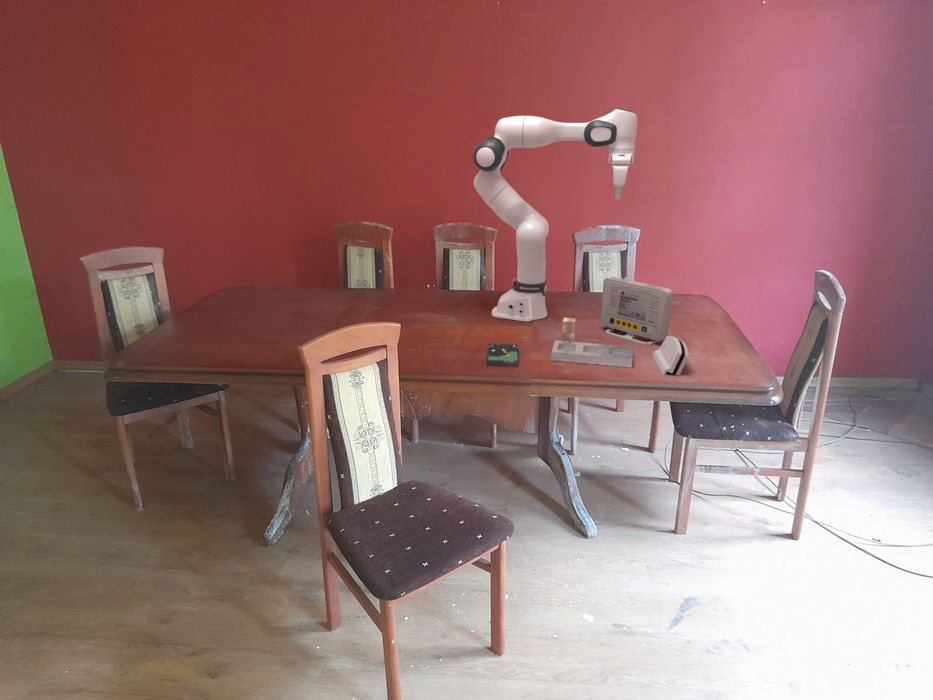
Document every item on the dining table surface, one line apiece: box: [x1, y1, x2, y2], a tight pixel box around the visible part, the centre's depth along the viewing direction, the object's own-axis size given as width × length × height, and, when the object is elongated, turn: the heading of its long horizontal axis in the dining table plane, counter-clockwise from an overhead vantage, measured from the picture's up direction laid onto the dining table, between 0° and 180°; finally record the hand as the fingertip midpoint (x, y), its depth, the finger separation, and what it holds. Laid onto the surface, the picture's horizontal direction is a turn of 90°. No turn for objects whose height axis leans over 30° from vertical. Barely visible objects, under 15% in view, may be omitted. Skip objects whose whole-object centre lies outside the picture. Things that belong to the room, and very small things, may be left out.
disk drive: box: [486, 343, 519, 368], centre depth 201 cm, size 10×3×15 cm
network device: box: [599, 276, 674, 346], centre depth 216 cm, size 26×9×20 cm, turn 44°
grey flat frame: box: [550, 339, 634, 369], centre depth 200 cm, size 26×11×3 cm, turn 76°
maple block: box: [561, 317, 577, 342], centre depth 211 cm, size 4×4×9 cm
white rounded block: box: [652, 335, 690, 376], centre depth 194 cm, size 17×5×10 cm, turn 176°
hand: (617, 197), depth 218 cm, fingers open, 8 cm apart
